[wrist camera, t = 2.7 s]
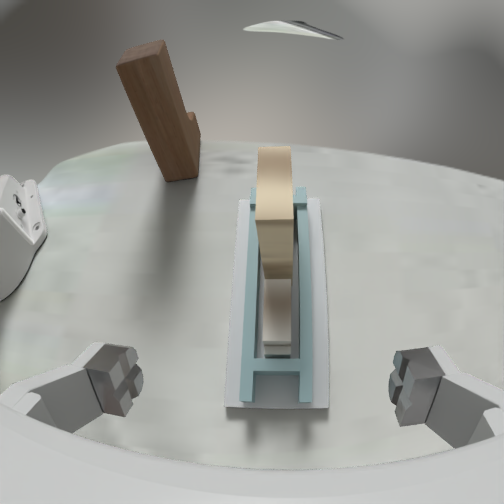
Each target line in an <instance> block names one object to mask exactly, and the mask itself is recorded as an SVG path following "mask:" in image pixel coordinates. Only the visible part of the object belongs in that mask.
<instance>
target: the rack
mask: <svg viewBox="0 0 504 504" xmlns="http://www.w3.org/2000/svg"><path fill="white" fill-rule="evenodd" d="M255 210H256V188H251V196H250V199H239V208H238V220H237V232H236V244H235V256H234V269H233V282H232V295H231V309H230V323H229V337H228V352H227V367H226V382H225V399H224V406H225V407H240V408H264V409H313V408H329V343H328V312H327V291H326V273H325V258H324V245H323V232H322V220H321V210H320V199H319V198H307V195H306V187H296V195H293V216H294V228H293V277H292V286H291V358H290V359H278V358H265V356H264V344H263V341H262V337H263V309H264V279H265V277H264V271H263V265H262V259H261V253H260V247H259V241H258V235H257V229H256V223H255Z"/></svg>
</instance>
